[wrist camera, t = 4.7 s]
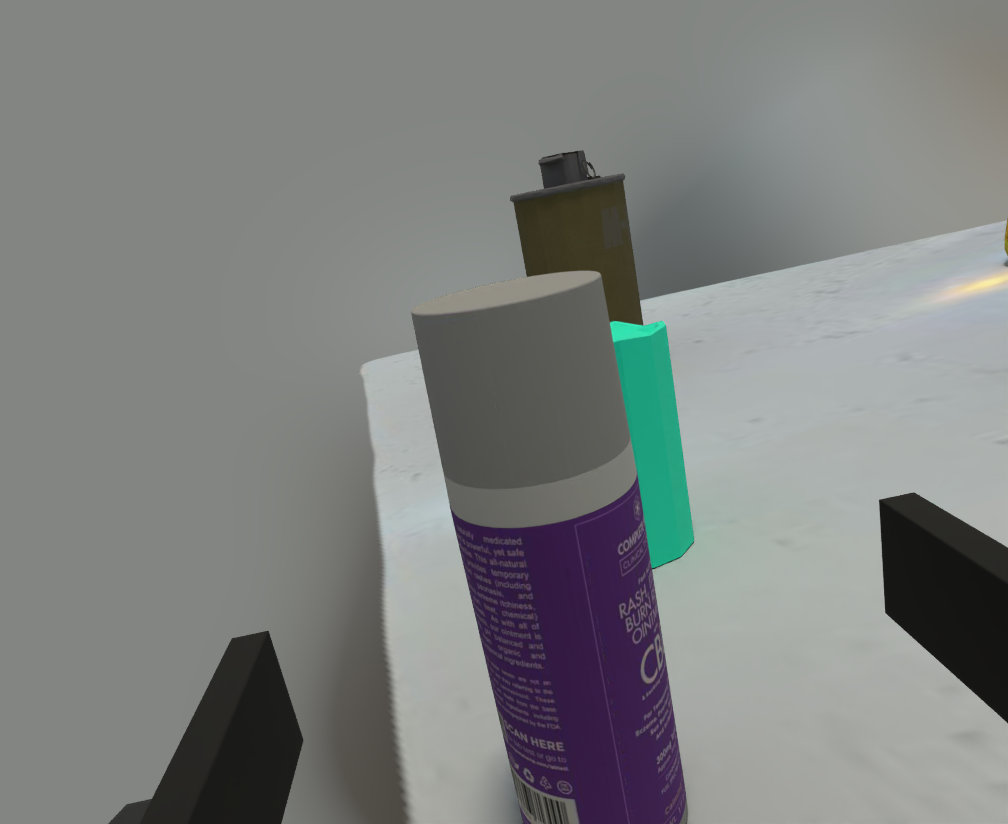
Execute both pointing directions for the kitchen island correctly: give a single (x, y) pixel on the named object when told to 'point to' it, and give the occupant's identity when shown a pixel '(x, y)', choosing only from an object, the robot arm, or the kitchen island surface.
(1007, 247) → the mug
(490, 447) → the container
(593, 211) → the canister
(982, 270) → the kitchen island surface
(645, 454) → the candle
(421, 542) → the kitchen island surface
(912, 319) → the kitchen island surface
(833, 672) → the kitchen island surface
